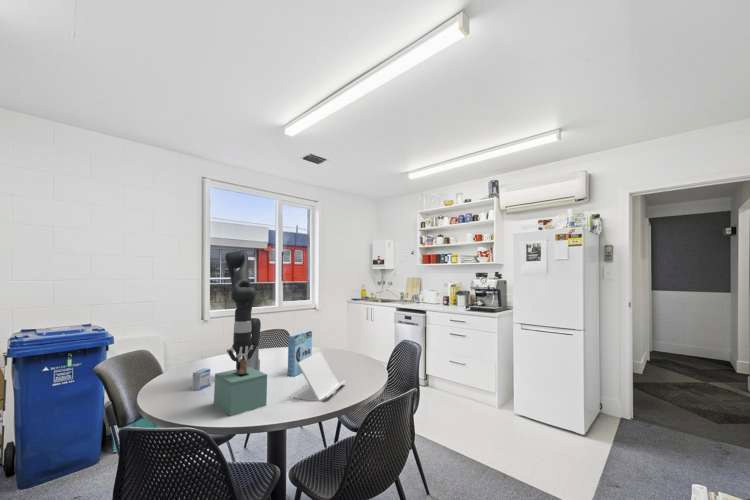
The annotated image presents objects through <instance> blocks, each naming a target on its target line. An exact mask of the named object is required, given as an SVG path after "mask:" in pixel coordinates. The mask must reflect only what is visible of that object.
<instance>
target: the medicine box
mask: <svg viewBox="0 0 750 500" xmlns="http://www.w3.org/2000/svg"><path fill="white" fill-rule="evenodd" d="M191 386H192V387H191V388H192V390H193V391H201V390H203V389H205V388H207V387H209V386H211V368H202V369H199V370H196V371H194V372H192V385H191Z"/></svg>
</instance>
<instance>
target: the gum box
mask: <svg viewBox="0 0 750 500" xmlns="http://www.w3.org/2000/svg"><path fill="white" fill-rule="evenodd" d="M312 336H313V331H311V330H306V331H301V332H298V333H293V334H291V335H288V339H287V340H288V343H287V345H288V346H287V347H288V348H287V349H288V352H287V376H288V377H289V376H290V377H296V376H298V375H300V374H301V373H302V372H301V370H300V368H299V366H298V365H297V363H298V362H300V361H302V360H304V359H306V358H308V357H310V356H312V355H313V354H312V353H313V352H312V351H313V345H312V344H313V343H312V342H313V341H312V340H313V337H312ZM302 374H303V373H302Z"/></svg>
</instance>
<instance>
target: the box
mask: <svg viewBox="0 0 750 500" xmlns="http://www.w3.org/2000/svg"><path fill="white" fill-rule="evenodd" d="M213 391H214V392H213V405H215V406H216V407H217V408H218V409H220V410H222V411H223V412H224V413H226V414H227V415H229V417H231V416H235V415H238V414H242V413H245V412H248V411H251V410H255V409H258V408H262V407H266V406H267V396H268V395H267V394H268V374H267V373H265V372H262V371H261V370H260V371H258V370H255V369H253V368H251V367H247V371H246V373H244V374H240V373H237V372H236V369H232V370H226V371H221V372H215V373H214V390H213Z"/></svg>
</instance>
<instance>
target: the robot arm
mask: <svg viewBox="0 0 750 500" xmlns="http://www.w3.org/2000/svg"><path fill="white" fill-rule="evenodd" d="M224 258H225V264H226V268H227V271H228V275H229V278H230V282H231V288H232V291H231V295H230V296H231V301H233V302H234V303H235V306H236V309H235V311H234V324H233V339H232V342H233V344H232V346H231V347H230V348H229V349H226V353H227V355H228V356H229V358H230V359H231V361H233V362H235V364H236V365H235V368H236V369H237V370H240V361H241V359H243V360H247V367H251V368H253V369H255V370H258V371H260V372H261V370H260V369H261V359H260V358H259V357H260V356H259V355H260V353H259V352H260V338H261V337H260V336H261V327H262V325H261V322H262V321H261V320H260V318H258V317H252V311H253V305H254V303H255V300H256V297H257V291H256V288H254V287H253V286H251V281H250V277H249V275H250V274H249V271H250V270H249V269H250V267H249V266H250V265H249V264H250V262H249V256H248V253H247V251H245V250H236V251H229V252H227V253H225V256H224ZM234 352H235V354H234ZM236 369H235V370H236Z"/></svg>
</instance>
